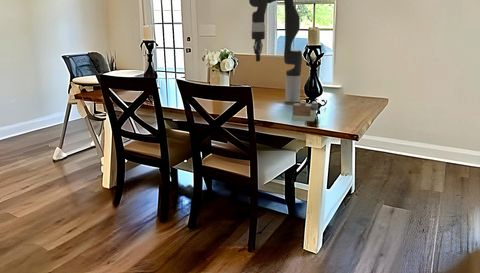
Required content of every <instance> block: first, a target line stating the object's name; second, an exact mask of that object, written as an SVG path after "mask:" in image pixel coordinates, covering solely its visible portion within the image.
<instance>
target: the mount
mask: <svg viewBox="0 0 480 273" xmlns="http://www.w3.org/2000/svg"><path fill="white" fill-rule="evenodd" d="M292 115H293V114H292ZM316 118H317V110H311V113H310V116H298V115H293V119H292V120H293V121H299V122H300V121H302V122H315V120H316Z"/></svg>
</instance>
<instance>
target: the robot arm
mask: <svg viewBox="0 0 480 273" xmlns="http://www.w3.org/2000/svg"><path fill="white" fill-rule="evenodd" d="M277 1H278V0H248V2H249V5H250V6H251V7H253V8H256V11H253V12H252V14H251V16H252V17H251V22H252V23H251V40H254V43H253V46H252V48H253V52H254V54H255V62H257V63H258V62H260V61H261V55H262V51H263V46H264V45H263V41H262V40H265V38H266V37H265V36H266V30H265V29H266V25H265V19H266V18H265V17H266V16H265V15H266V10H267V7H268V4H271V3H273V2H277ZM283 1H284V51H283V52H284V53H283V61H284V64H286V65H291V66H292V65H294V67H293V68H291V69H287V70H286V74H285V102H287V103H293V104H294V103H300V102H301V101H300V100H301V99H300V94H301V74H302V73H301V72H302V62H303V52H302V50H300V49H292V44H293V41H294V39H295V38H296V36H297V34H298V33H299V31H300V29H301V28H300V26H301V25H300V23H301V21H300V19H301V18H300V14H299V13H298V10H297V9H296V7H295V4H294V0H283Z"/></svg>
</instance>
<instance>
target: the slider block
mask: <svg viewBox="0 0 480 273" xmlns="http://www.w3.org/2000/svg"><path fill="white" fill-rule="evenodd" d="M311 104H312V103H307V102H305V101H299V102H294V103H293V104H292V120H293V115H298V116H310V113H311Z"/></svg>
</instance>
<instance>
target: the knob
mask: <svg viewBox="0 0 480 273" xmlns="http://www.w3.org/2000/svg"><path fill="white" fill-rule="evenodd" d="M310 104H311V110H316V111H318V110H319V103H318V101H312V102H311V103H310Z"/></svg>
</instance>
